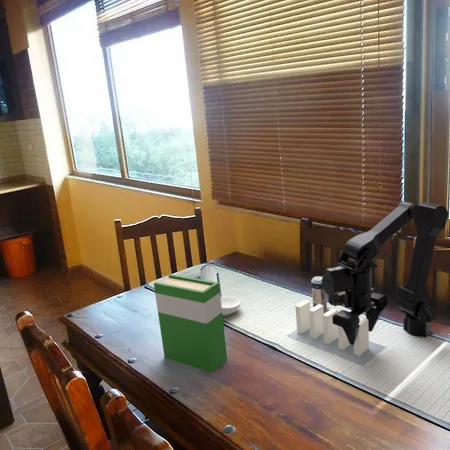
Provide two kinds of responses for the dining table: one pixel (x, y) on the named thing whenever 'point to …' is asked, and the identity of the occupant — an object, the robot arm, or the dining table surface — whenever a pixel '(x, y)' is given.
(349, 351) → the domino board
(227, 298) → the spoon rest
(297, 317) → the domino
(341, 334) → the domino
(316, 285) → the spice jar
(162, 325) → the hardback book
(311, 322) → the domino
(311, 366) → the dining table surface
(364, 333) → the domino
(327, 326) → the domino
